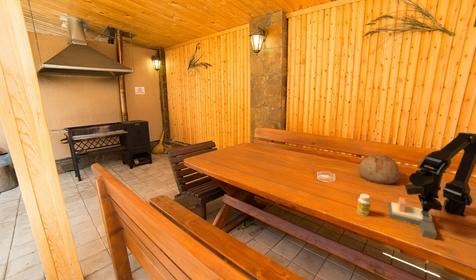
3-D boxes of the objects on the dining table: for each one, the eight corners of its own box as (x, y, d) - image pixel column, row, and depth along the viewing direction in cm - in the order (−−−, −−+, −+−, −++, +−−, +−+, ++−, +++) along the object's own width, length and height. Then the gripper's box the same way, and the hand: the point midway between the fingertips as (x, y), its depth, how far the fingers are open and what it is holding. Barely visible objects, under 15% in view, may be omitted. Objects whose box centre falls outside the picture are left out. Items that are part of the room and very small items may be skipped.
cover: (421, 210, 100) (423, 200, 99) (425, 221, 92) (428, 211, 90) (391, 203, 106) (392, 194, 105) (392, 213, 98) (394, 203, 97)
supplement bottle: (364, 209, 105) (366, 192, 103) (371, 215, 100) (374, 198, 98) (354, 210, 105) (356, 193, 103) (360, 216, 100) (363, 198, 98)
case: (428, 215, 100) (429, 209, 99) (438, 240, 83) (440, 234, 83) (388, 205, 108) (388, 200, 107) (390, 227, 92) (391, 221, 91)
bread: (360, 167, 159) (362, 148, 155) (398, 173, 146) (401, 154, 142) (355, 179, 138) (358, 159, 135) (399, 189, 125) (403, 166, 121)
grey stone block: (428, 216, 94) (429, 212, 93) (431, 222, 90) (432, 218, 89) (420, 214, 95) (421, 210, 95) (422, 220, 91) (423, 216, 91)
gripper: (406, 171, 103) (400, 199, 107) (410, 186, 88) (404, 217, 92) (435, 176, 97) (428, 205, 101) (446, 193, 82) (437, 226, 86)
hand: (424, 212), depth 95 cm, fingers closed
